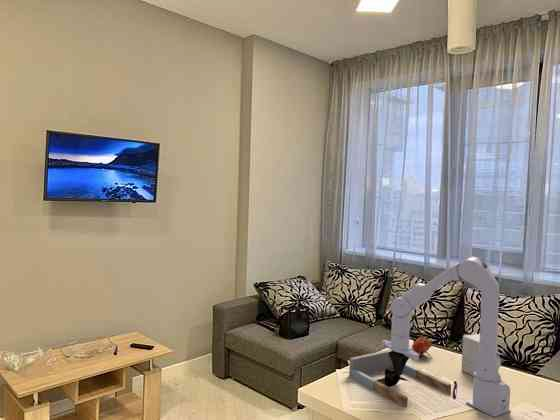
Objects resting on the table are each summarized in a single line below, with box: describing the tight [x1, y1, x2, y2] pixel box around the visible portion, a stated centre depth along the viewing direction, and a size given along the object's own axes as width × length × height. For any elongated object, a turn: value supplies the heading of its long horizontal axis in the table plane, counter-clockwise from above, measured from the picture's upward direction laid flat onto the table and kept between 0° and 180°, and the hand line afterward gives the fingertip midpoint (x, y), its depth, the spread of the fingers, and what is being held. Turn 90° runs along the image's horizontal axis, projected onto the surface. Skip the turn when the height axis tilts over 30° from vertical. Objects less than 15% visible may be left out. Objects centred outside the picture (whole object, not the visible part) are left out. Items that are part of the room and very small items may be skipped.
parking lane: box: [348, 349, 452, 408], centre depth 146 cm, size 24×21×6 cm
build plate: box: [376, 366, 410, 388], centre depth 148 cm, size 12×7×5 cm, turn 122°
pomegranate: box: [411, 337, 433, 359], centre depth 171 cm, size 7×7×10 cm
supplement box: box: [460, 333, 480, 377], centre depth 157 cm, size 7×7×13 cm
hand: (398, 374), depth 146 cm, fingers closed
